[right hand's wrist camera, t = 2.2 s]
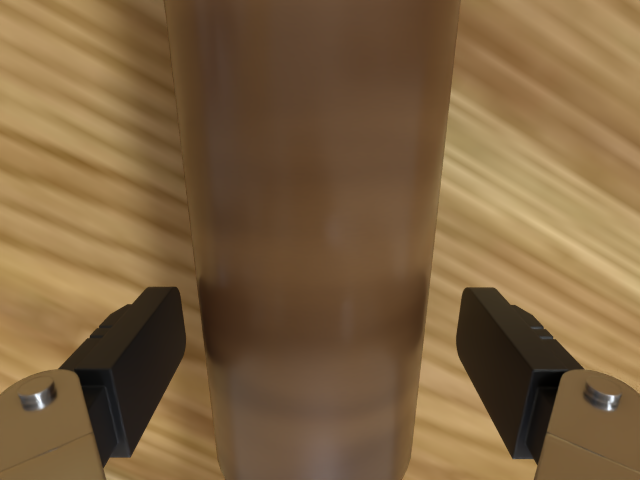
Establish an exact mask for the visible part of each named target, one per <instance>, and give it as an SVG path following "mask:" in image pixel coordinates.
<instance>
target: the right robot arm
mask: <svg viewBox="0 0 640 480" xmlns="http://www.w3.org/2000/svg"><path fill="white" fill-rule="evenodd" d="M185 346H186V333H185V326H184V319H183V312H182V304H181V297H180V292H179V290H178V288H177V287H148V288H146V289H145V290H144V292H143V293H142V294H141V295H140V296H139V297H138V298H137V299H136V300H135V302H134V303H133V304H127V305H126V306H124V307H122V308H120V309H119V310H117V311H115V312H114V313H112V314H110V315H109V316H108V317H107V318H106V319H105V320H104V322H103V323H102V324H101V325H100V326H99V328H97V329H96V330H95V331H94V332H93V333H92V334H91V335H90V338H87V339H86V340H85V341H84V342H83V344H82V345H81V346H80V347H79V348H78V349H77V350H76V351H75V352H74V353H73V354H72V355H71V356H70V357H69V358H68V359H67V360H66V361H65V362H64V363H63V364H62V366H61V367H60V368H59V369H56V370H49V371H44V372H40V373H37V374H34V375H31V376H28V377H26V378H24V379H22V380H20V381H18V382H16V383H15V384H13V385H12V386H10V387H9V388H7V389H6V390H5V391H4V392H3V393H1V394H0V480H106V477H105V474H104V470H103V468H104V466H105V465H106V463H107V461H108V459H109V458H110V457H131V455H132V454H133V452H134V450H135V448H136V446H137V444H138V442H139V440H140V438H141V436H142V434H143V433H144V431H145V429H146V427H147V425H148V423H149V421H150V419H151V417H152V415H153V413H154V411H155V410H156V408H157V406H158V404H159V402H160V400H161V398H162V396H163V394H164V392H165V390H166V389H167V387H168V385H169V383H170V381H171V379H172V377H173V375H174V373H175V371H176V369H177V367H178V366H179V364H180V362H181V360H182V358H183V355H184V352H185ZM456 346H457V352H458V356H459V358H460V360H461V362H462V364H463V366H464V368H465V370H466V372H467V374H468V375H469V377H470V379H471V381H472V383H473V385H474V387H475V389H476V391H477V393H478V394H479V396H480V398H481V400H482V402H483V404H484V406H485V408H486V410H487V411H488V413H489V415H490V417H491V419H492V421H493V423H494V425H495V427H496V428H497V430H498V432H499V434H500V436H501V438H502V440H503V442H504V444H505V445H506V447H507V449H508V451H509V453H510V455H511V457H512V459H534V460H535V462H536V464H537V465H538V466H537V470H536V474H535V477H534V480H640V394H639V393H637V392H636V391H635V390H634V389H633V388H631V387H630V386H628V385H627V384H625V383H624V382H622V381H620V380H618V379H616V378H614V377H612V376H609V375H606V374H603V373H600V372H596V371H591V370H585V369H584V368H583V367H582V366H581V365H580V364H579V363H578V362H577V361H576V360H575V359H574V358H573V357H572V356H571V355H570V354H569V353H568V352H567V351H566V350H565V349H564V348H563V346H562V345H561V344H560V343H559V342H558V341H557V340H556V339H553V336H552V335H551V334H550V333H549V332H548V331H547V330H546V329H544V327H543V326H542V325H541V324H540V323H539V322H538V321H537V319H536V318H535V317H534V316H533V315H531V314H530V313H528V312H526V311H524V310H523V309H521V308H519V307H517V306H516V305H510V304H509V303H508V302H507V300H506V299H505V298H504V297H503V296H502V295H501V294H500V293H499V292H498V291H497V289H495V288H465V289H464V291H463V294H462V299H461V306H460V313H459V320H458V327H457V335H456Z"/></svg>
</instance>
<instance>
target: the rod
mask: <svg viewBox="0 0 640 480" xmlns="http://www.w3.org/2000/svg"><path fill="white" fill-rule="evenodd" d="M460 1H461V0H164V5H165V13H166V22H167V30H168V39H169V48H170V56H171V65H172V73H173V82H174V90H175V99H176V107H177V116H178V125H179V133H180V142H181V150H182V159H183V167H184V176H185V184H186V193H187V202H188V210H189V219H190V227H191V236H192V244H193V253H194V261H195V270H196V279H197V287H198V296H199V304H200V313H201V321H202V330H203V338H204V347H205V356H206V364H207V373H208V381H209V390H210V398H211V407H212V415H213V424H214V433H215V441H216V450H217V458H218V462H219V465H220V469H221V471H222V473H223V475H224V477H225V479H226V480H402V478H403V476H404V474H405V472H406V470H407V468H408V465H409V461H410V458H411V451H412V442H413V433H414V424H415V415H416V405H417V396H418V387H419V378H420V369H421V359H422V350H423V341H424V332H425V323H426V313H427V304H428V295H429V286H430V277H431V267H432V258H433V249H434V240H435V231H436V221H437V212H438V203H439V194H440V185H441V175H442V166H443V157H444V148H445V139H446V129H447V120H448V111H449V102H450V93H451V83H452V74H453V65H454V56H455V47H456V37H457V28H458V19H459V10H460Z"/></svg>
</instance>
